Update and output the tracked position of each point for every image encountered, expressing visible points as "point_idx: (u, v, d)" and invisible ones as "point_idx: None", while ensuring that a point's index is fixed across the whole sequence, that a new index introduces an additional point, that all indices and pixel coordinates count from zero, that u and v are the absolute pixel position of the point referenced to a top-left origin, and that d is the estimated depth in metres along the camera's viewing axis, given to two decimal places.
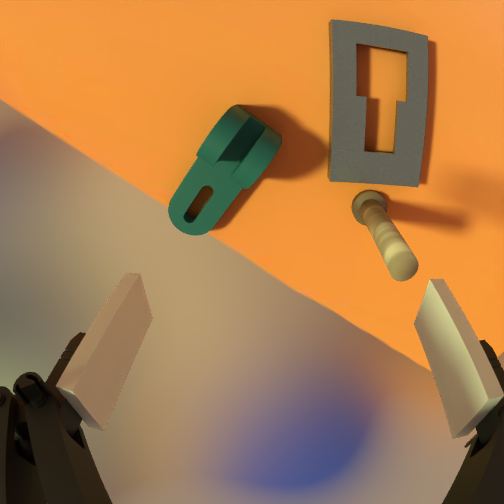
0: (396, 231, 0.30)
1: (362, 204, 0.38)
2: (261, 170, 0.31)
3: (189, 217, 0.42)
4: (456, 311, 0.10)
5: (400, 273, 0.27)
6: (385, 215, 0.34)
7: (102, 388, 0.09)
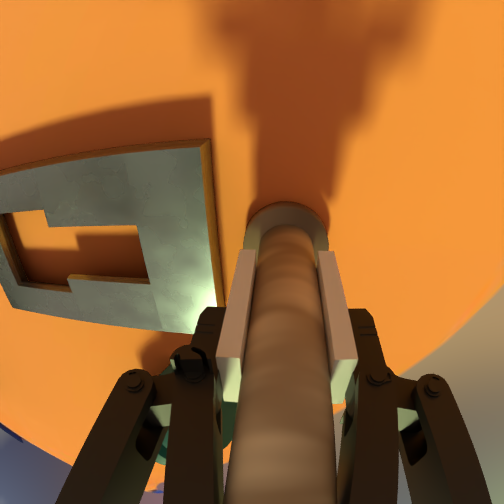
0: (242, 377, 0.09)
1: None
2: None
3: None
4: (332, 278, 0.12)
5: None
6: None
7: None
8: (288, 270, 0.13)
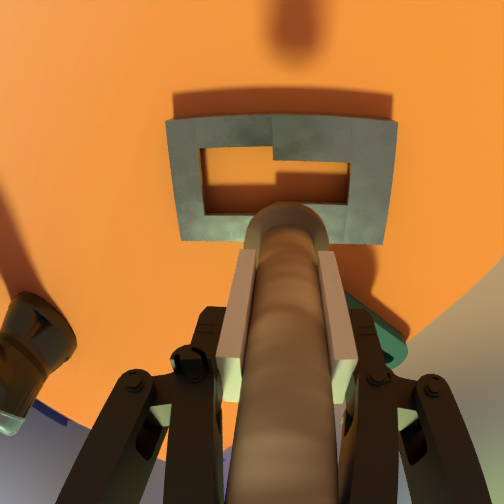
0: (243, 378, 0.09)
1: None
2: None
3: (389, 353, 0.39)
4: (332, 278, 0.12)
5: None
6: (252, 302, 0.13)
7: None
8: (289, 270, 0.13)
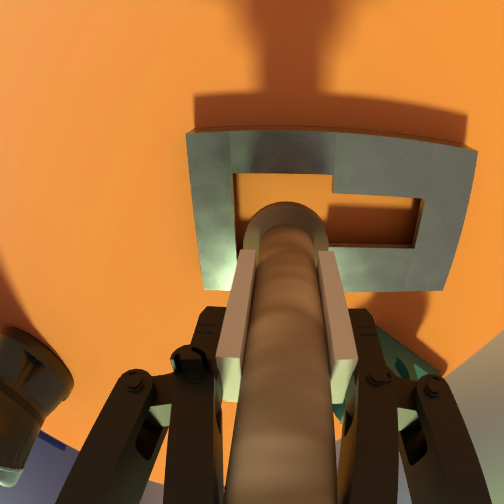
0: (241, 378, 0.09)
1: None
2: None
3: None
4: (332, 278, 0.12)
5: None
6: None
7: None
8: (288, 270, 0.13)
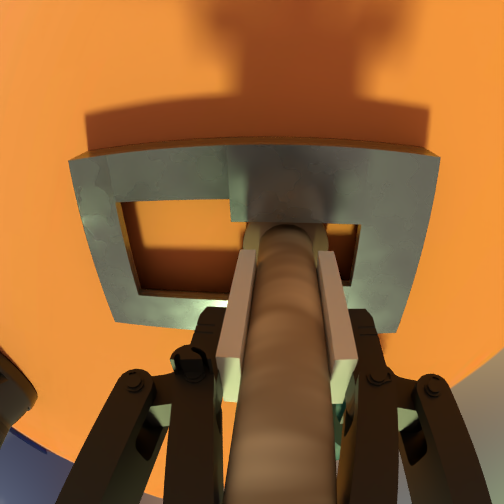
0: (241, 378, 0.09)
1: None
2: None
3: None
4: (332, 278, 0.12)
5: None
6: None
7: None
8: (288, 270, 0.13)
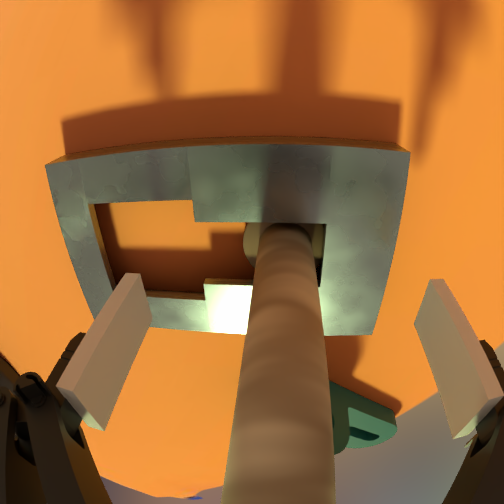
0: (241, 370, 0.10)
1: None
2: None
3: None
4: (456, 311, 0.10)
5: None
6: (251, 297, 0.13)
7: (102, 388, 0.09)
8: (287, 265, 0.13)
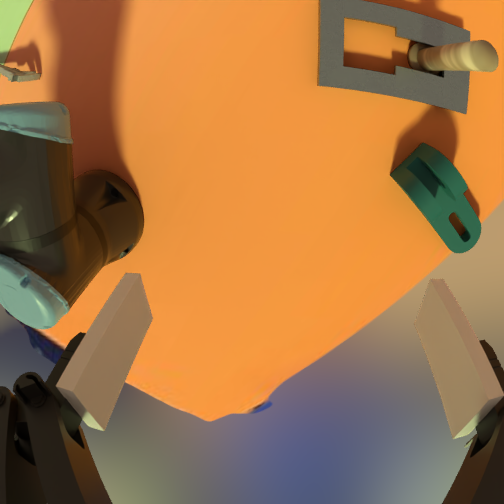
0: (449, 48, 0.20)
1: (422, 67, 0.28)
2: (460, 176, 0.29)
3: (464, 235, 0.40)
4: (456, 311, 0.10)
5: (491, 60, 0.16)
6: (433, 51, 0.23)
7: (102, 388, 0.09)
8: None
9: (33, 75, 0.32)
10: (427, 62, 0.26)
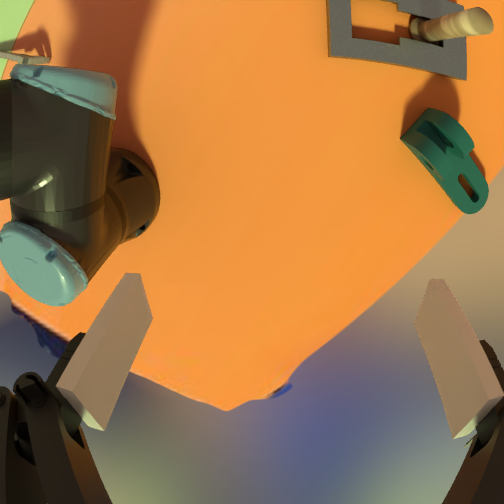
0: (449, 17, 0.20)
1: (423, 38, 0.28)
2: (467, 134, 0.29)
3: (473, 197, 0.40)
4: (456, 311, 0.10)
5: (487, 24, 0.16)
6: (433, 22, 0.24)
7: (102, 388, 0.09)
8: None
9: (43, 58, 0.32)
10: (428, 33, 0.26)
